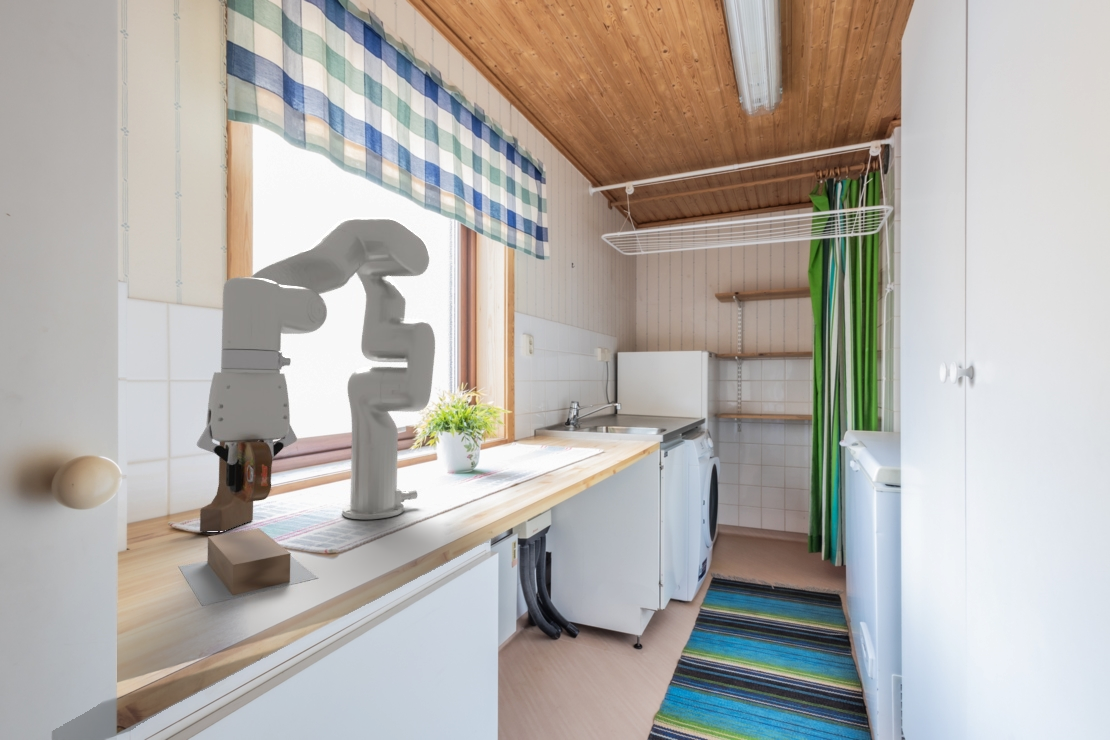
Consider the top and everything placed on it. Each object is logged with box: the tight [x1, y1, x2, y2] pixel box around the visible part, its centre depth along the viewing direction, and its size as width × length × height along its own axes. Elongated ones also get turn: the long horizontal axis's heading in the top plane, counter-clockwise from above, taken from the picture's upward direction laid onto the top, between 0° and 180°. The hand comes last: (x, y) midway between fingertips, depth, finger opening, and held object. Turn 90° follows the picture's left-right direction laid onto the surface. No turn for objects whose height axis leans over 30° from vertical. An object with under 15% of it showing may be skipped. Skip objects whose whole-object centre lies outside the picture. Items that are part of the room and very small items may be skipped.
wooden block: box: [199, 442, 254, 532], centre depth 104 cm, size 9×4×18 cm, turn 173°
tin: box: [229, 441, 273, 503], centre depth 78 cm, size 15×3×8 cm, turn 43°
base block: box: [206, 527, 291, 596], centre depth 78 cm, size 7×16×4 cm, turn 43°
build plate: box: [178, 554, 319, 607], centre depth 78 cm, size 14×18×1 cm
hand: (248, 488), depth 78 cm, fingers closed on tin, 2 cm apart
